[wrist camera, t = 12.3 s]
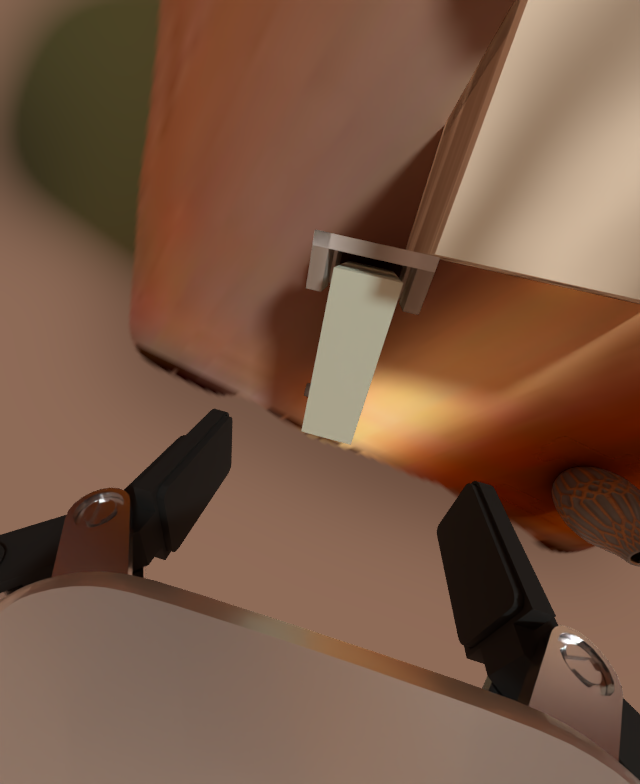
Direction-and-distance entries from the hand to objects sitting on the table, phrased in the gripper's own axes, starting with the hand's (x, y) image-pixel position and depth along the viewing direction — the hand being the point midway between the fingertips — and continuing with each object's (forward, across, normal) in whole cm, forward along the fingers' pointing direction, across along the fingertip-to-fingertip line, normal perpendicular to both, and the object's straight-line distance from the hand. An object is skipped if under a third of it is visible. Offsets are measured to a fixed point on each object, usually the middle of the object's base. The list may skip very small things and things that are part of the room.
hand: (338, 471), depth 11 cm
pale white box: (+19, +1, 0) cm, 19 cm away
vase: (+19, -28, +10) cm, 35 cm away
